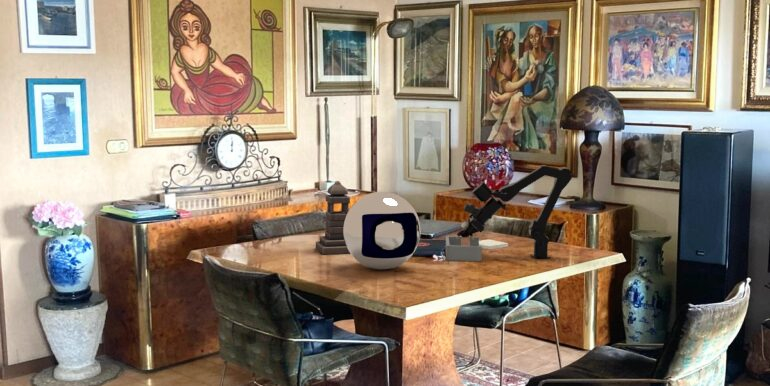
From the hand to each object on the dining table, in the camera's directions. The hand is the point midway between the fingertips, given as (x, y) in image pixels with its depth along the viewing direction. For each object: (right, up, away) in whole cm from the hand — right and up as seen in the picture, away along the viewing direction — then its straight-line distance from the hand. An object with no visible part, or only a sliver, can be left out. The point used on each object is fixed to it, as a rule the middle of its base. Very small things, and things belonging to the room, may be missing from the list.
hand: (461, 236), depth 373 cm
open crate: (+1, -8, +1) cm, 8 cm away
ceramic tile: (+14, -6, +23) cm, 27 cm away
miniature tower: (-52, -7, +7) cm, 53 cm away
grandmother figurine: (+1, -7, +1) cm, 7 cm away
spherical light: (-33, -12, -28) cm, 45 cm away
